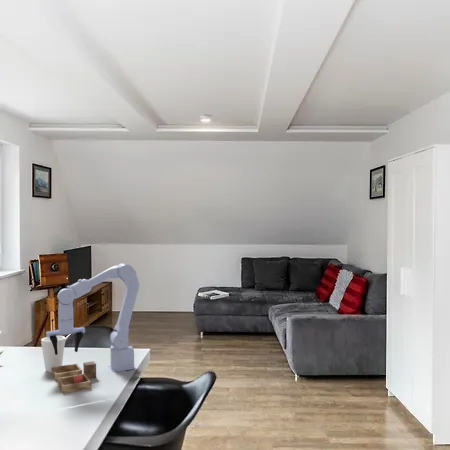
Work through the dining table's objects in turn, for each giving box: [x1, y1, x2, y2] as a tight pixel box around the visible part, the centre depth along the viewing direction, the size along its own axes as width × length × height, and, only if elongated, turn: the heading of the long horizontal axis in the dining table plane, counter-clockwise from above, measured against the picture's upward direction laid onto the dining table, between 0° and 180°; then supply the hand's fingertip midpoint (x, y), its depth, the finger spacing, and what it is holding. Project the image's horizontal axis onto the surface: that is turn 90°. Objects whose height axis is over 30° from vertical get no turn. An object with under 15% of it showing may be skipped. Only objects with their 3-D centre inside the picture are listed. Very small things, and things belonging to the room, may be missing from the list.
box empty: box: [50, 363, 83, 382], centre depth 181 cm, size 10×10×3 cm
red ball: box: [74, 375, 83, 383], centre depth 170 cm, size 3×3×3 cm
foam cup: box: [40, 335, 66, 373], centre depth 190 cm, size 10×9×13 cm
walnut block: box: [83, 360, 97, 380], centre depth 178 cm, size 4×4×6 cm
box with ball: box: [57, 373, 92, 394], centre depth 168 cm, size 10×10×3 cm
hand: (66, 352), depth 181 cm, fingers open, 7 cm apart
